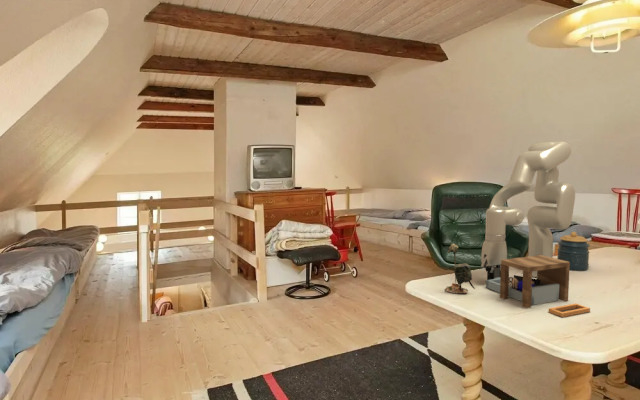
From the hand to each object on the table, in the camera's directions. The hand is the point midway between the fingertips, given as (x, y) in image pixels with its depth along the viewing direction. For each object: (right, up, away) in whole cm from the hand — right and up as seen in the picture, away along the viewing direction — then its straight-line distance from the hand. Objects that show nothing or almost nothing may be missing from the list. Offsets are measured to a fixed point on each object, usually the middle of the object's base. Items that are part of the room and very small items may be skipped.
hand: (494, 280), depth 161 cm
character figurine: (+6, -3, -15) cm, 16 cm away
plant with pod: (-18, -3, -9) cm, 20 cm away
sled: (+4, -2, -11) cm, 11 cm away
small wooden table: (+7, -3, -18) cm, 19 cm away
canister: (+50, +1, +25) cm, 55 cm away
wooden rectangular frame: (+11, -4, -31) cm, 33 cm away
